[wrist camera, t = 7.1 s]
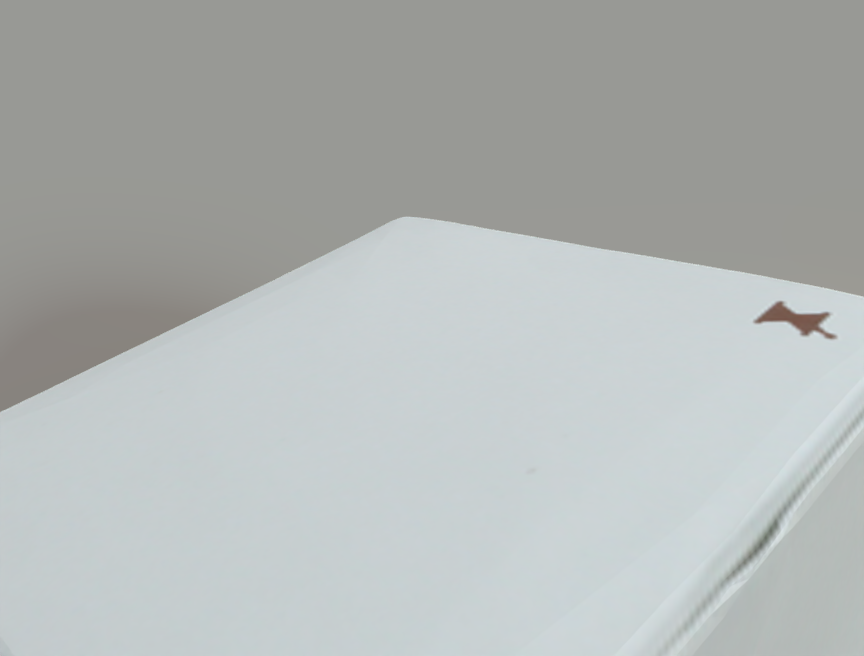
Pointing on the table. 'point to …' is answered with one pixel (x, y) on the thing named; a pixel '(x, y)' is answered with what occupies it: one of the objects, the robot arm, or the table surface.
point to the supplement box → (453, 465)
